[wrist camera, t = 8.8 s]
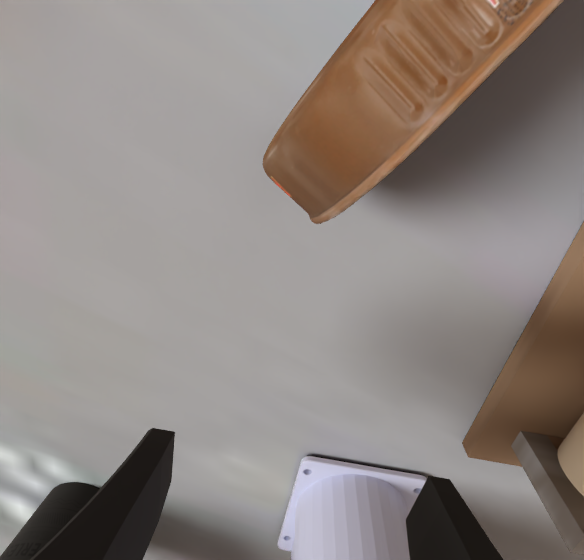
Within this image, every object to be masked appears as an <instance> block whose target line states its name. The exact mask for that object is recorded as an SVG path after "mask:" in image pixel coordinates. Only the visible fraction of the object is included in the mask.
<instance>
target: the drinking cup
mask: <svg viewBox="0 0 584 560" xmlns="http://www.w3.org/2000/svg"><path fill="white" fill-rule="evenodd" d="M99 490H100V489H98V488H96V487H93V486H90V485H87V484H82V483H65V484H61V485H58V486H57V487H55V488H54V489H53V490H52V491H51V492H50V493H49V494H48V496H47V497H46V498H45V500H44V501H43V502H42V503H41V505H40V506H39V507H38V509H37V510H36V511H35V512H34V514H33V515H32V516H31V518H30V519H29V520H28V521H27V523H26V524H25V525H24V527H23V528H22V529H21V530H20V532H19V533H18V534H17V536H16V537H15V538H14V540H13V541H12V542H11V543H10V545H9V546H8V547H7V549H6V550H5V551H4V552H3V554H2V555H1V556H0V560H30V559H31V558H32V557H33V556H34V555H35V554H36V553H37V552H38V551H39V550H41V549H42V548H43V547H44V546H45V545H46V544H47V543H48V542H49V541H50V540H51V539H52V538H53V537H54V536H55V535H56V534H57V533H58V532H59V531H60V530H61V529H62V528H63V527H64V526H65V525H66V524H67V523H68V522H69V521H70V520H71V519H72V518H73V517H74V516H75V515H76V514H77V513H78V512H79V511H80V510H81V509H82V508H83V507H84V506H85V505H86V504H87V503H88V502H89V500H90V499H91V498H92V497H93V496H94V495H95V494H96V493H97V492H98V491H99Z"/></svg>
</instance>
